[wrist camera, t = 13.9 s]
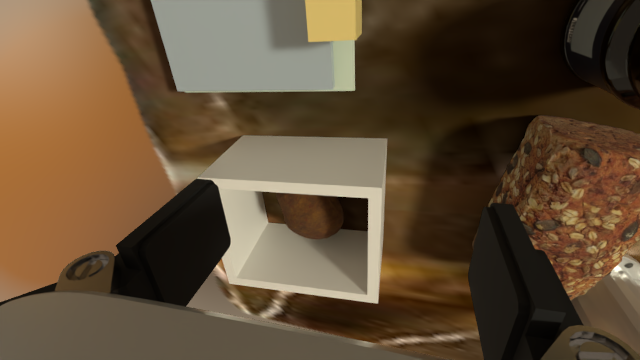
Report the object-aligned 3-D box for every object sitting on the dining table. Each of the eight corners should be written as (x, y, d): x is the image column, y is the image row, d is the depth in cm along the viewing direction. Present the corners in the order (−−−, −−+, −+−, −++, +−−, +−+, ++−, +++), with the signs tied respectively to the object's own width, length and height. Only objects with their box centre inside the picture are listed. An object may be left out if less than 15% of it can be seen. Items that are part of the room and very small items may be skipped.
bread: (528, 107, 33) (572, 148, 24) (642, 127, 31) (730, 178, 23) (463, 241, 43) (478, 303, 34) (548, 260, 41) (585, 329, 33)
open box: (387, 138, 37) (382, 187, 28) (383, 239, 45) (378, 303, 36) (242, 135, 41) (197, 177, 32) (261, 228, 49) (229, 283, 40)
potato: (310, 148, 40) (292, 179, 34) (359, 201, 43) (352, 240, 36) (273, 177, 44) (250, 211, 37) (320, 225, 46) (307, 264, 40)
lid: (364, -105, 26) (353, -129, 21) (364, 83, 34) (356, 102, 29) (144, -73, 31) (87, -86, 26) (188, 86, 39) (152, 103, 33)
